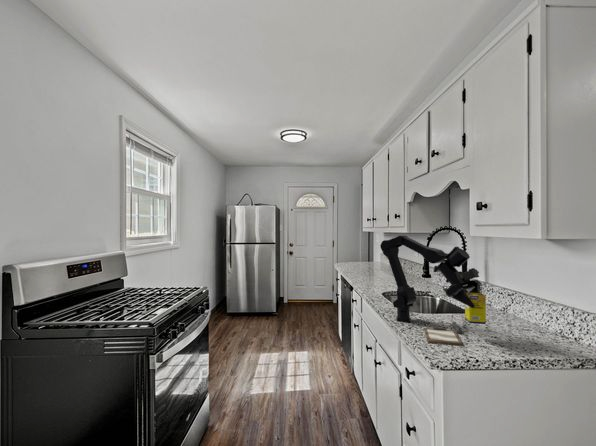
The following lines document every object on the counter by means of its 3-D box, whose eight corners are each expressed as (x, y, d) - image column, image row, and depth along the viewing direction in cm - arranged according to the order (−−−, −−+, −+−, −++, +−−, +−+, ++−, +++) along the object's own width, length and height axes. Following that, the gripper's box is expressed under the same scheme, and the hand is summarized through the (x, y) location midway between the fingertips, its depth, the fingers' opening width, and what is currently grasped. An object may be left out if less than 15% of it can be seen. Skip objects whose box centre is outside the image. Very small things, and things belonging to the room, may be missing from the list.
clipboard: (424, 330, 139) (424, 326, 139) (454, 332, 136) (454, 328, 136) (427, 342, 124) (427, 338, 124) (462, 345, 121) (462, 341, 121)
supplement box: (486, 324, 125) (486, 296, 125) (469, 323, 126) (469, 295, 126) (481, 320, 131) (480, 292, 131) (464, 319, 132) (464, 292, 132)
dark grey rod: (456, 322, 146) (456, 325, 146) (452, 321, 147) (451, 325, 147) (462, 330, 134) (462, 335, 134) (457, 329, 134) (457, 334, 134)
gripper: (453, 263, 126) (483, 296, 117) (475, 260, 137) (504, 290, 129) (434, 280, 133) (461, 313, 124) (457, 276, 144) (483, 306, 135)
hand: (478, 305), depth 127 cm, fingers closed on supplement box, 8 cm apart
